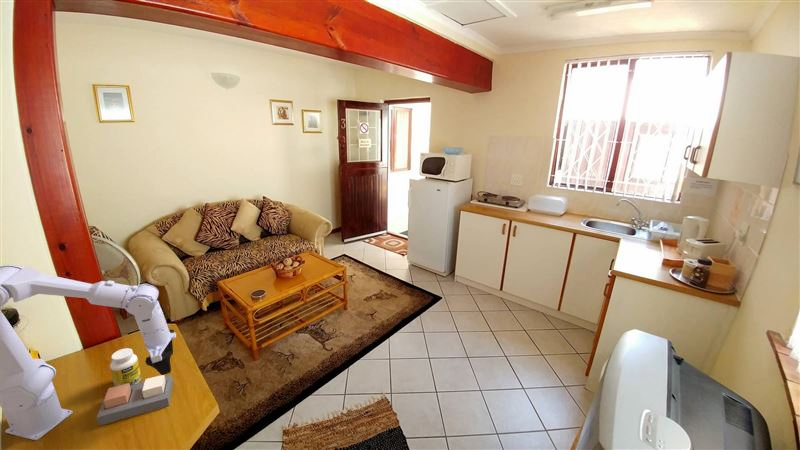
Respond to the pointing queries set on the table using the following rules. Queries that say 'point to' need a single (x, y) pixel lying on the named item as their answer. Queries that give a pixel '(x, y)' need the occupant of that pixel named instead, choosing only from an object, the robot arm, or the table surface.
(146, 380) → the key cream
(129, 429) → the table surface
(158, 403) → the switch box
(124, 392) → the key terracotta
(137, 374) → the pill bottle
